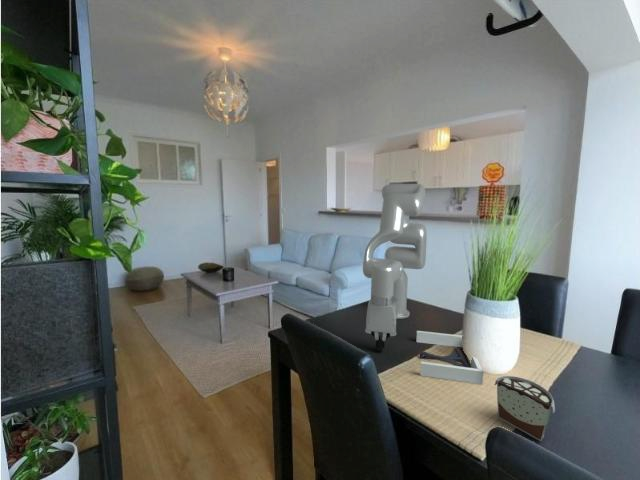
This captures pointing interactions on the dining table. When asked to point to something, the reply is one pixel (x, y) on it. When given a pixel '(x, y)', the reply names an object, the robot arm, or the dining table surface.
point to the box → (449, 371)
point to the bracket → (448, 358)
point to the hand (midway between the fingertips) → (380, 349)
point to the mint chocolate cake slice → (524, 405)
